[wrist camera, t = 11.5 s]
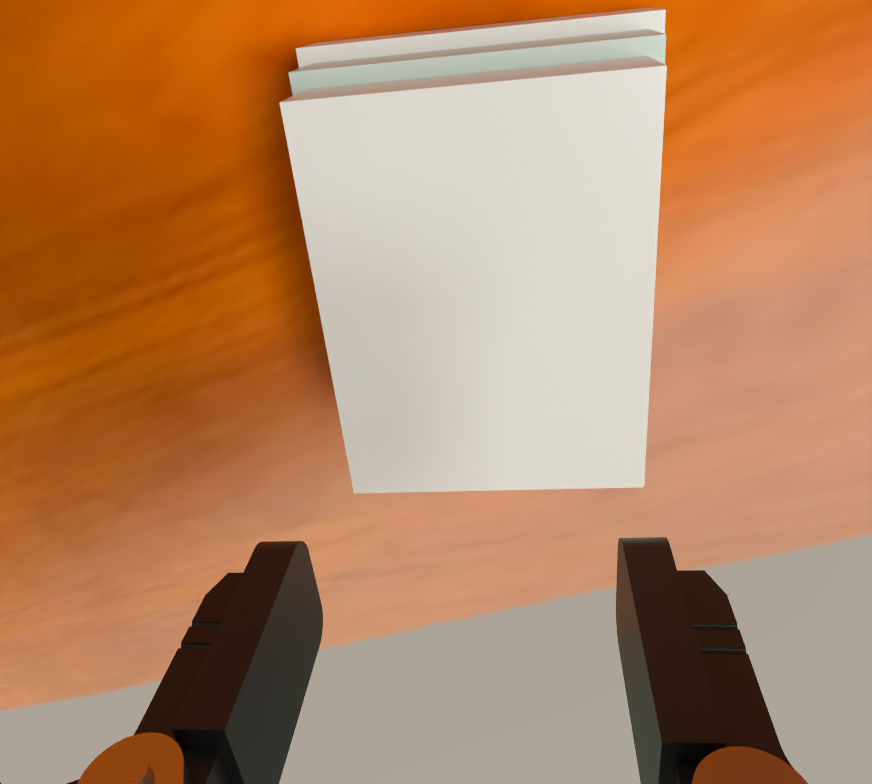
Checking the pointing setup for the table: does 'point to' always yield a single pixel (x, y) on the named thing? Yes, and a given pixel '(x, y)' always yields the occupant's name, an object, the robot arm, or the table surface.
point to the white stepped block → (486, 247)
